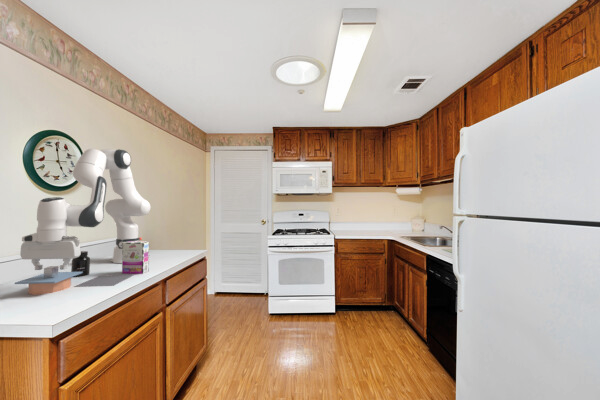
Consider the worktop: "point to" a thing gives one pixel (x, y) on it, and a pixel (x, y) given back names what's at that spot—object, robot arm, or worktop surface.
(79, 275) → the supplement bottle
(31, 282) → the cover sheet
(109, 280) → the mat
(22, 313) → the worktop surface
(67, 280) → the bowl
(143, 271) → the candy bar box
